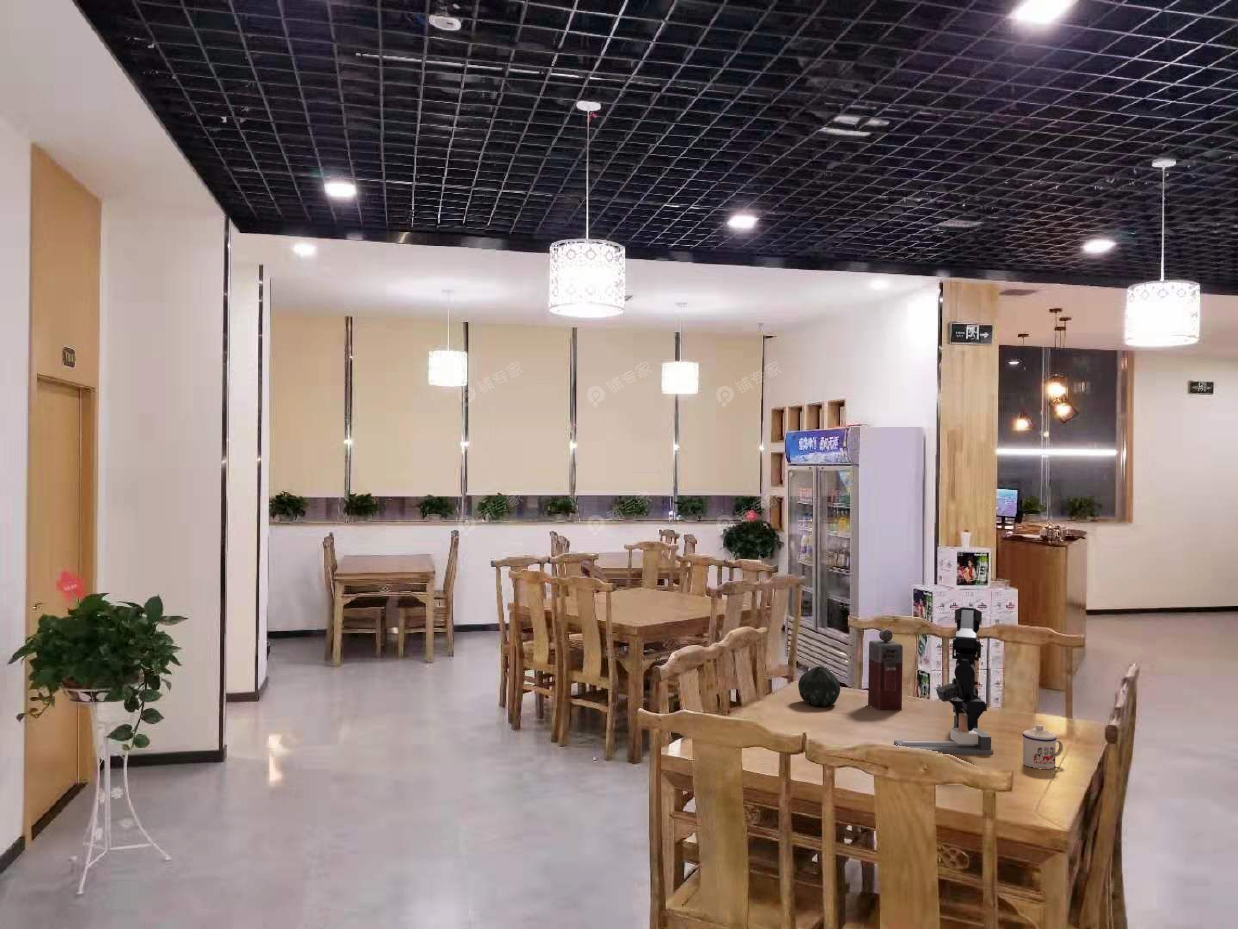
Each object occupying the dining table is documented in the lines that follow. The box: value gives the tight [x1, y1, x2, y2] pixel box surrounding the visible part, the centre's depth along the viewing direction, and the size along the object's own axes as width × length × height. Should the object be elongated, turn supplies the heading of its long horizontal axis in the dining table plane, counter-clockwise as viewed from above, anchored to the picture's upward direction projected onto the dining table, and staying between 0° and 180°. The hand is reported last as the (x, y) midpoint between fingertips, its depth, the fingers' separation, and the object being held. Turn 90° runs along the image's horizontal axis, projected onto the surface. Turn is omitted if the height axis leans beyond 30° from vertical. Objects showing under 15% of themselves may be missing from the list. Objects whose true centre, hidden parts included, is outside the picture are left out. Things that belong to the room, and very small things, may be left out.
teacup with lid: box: [1022, 724, 1064, 770], centre depth 275 cm, size 12×9×12 cm
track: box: [893, 727, 994, 755], centre depth 290 cm, size 27×10×5 cm, turn 92°
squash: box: [797, 665, 841, 707], centre depth 344 cm, size 14×15×15 cm
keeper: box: [949, 713, 978, 744], centre depth 291 cm, size 6×6×8 cm
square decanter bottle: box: [867, 628, 904, 712], centre depth 340 cm, size 9×11×28 cm
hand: (964, 727), depth 291 cm, fingers open, 7 cm apart
